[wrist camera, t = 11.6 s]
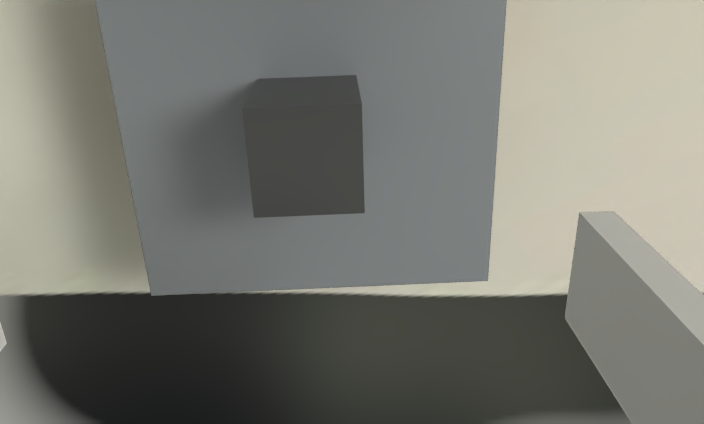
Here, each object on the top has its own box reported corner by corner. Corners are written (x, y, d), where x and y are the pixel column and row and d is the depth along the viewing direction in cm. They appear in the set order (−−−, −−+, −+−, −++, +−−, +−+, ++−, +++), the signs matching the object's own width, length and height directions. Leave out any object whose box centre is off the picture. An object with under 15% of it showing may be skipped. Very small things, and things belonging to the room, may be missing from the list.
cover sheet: (155, 286, 30) (117, 361, 24) (87, -78, 23) (15, -86, 18) (484, 272, 30) (517, 343, 24) (507, -93, 23) (558, -104, 18)
